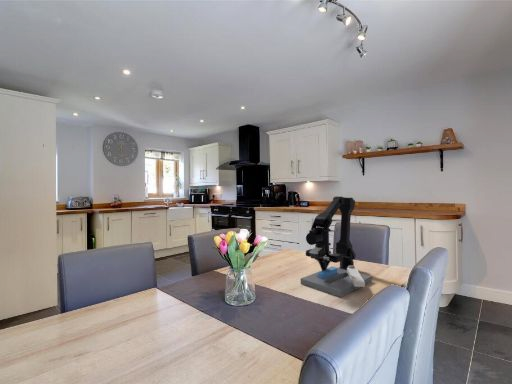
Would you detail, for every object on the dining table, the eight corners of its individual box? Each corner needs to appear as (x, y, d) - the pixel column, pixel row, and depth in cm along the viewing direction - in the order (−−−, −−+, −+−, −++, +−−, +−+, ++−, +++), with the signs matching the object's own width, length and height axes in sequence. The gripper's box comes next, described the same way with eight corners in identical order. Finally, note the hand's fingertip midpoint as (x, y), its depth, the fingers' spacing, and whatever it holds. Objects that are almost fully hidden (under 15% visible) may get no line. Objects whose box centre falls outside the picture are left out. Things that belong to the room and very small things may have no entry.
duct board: (300, 283, 130) (300, 278, 130) (332, 271, 147) (332, 266, 147) (341, 297, 113) (341, 291, 113) (371, 281, 130) (371, 276, 130)
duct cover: (346, 270, 139) (346, 265, 139) (355, 270, 138) (355, 265, 138) (354, 286, 117) (354, 280, 117) (365, 286, 117) (364, 280, 116)
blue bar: (318, 277, 131) (318, 272, 131) (333, 271, 138) (333, 267, 138) (322, 278, 129) (322, 273, 129) (337, 272, 137) (337, 268, 136)
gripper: (298, 241, 137) (298, 271, 137) (329, 247, 123) (330, 281, 123) (312, 237, 144) (313, 267, 145) (343, 243, 130) (344, 275, 130)
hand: (324, 272), depth 135 cm, fingers closed
